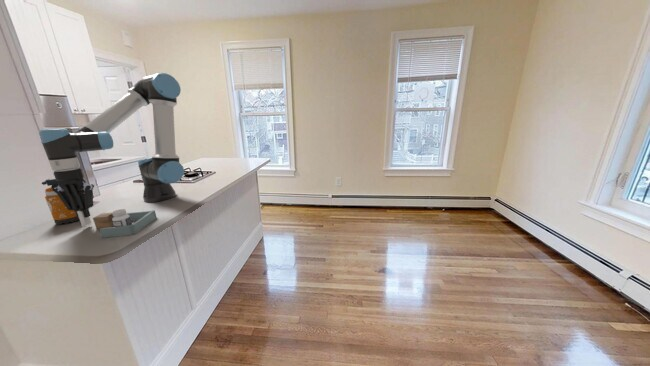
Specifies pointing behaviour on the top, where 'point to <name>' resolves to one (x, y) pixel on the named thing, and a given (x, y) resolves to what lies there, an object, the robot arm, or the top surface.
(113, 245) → the top surface
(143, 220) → the box
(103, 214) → the tan block
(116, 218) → the pill bottle
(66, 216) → the canister
